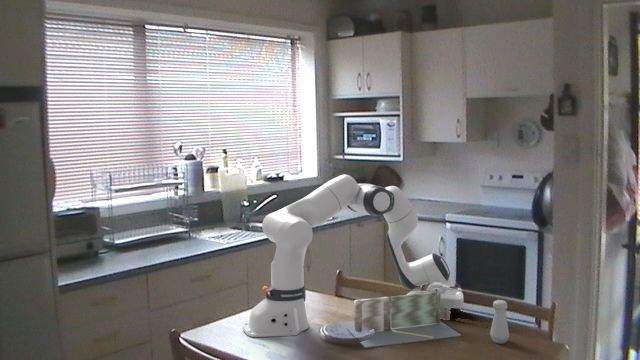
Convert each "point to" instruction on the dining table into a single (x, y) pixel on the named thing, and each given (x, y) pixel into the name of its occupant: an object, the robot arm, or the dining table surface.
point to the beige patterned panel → (372, 314)
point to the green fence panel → (415, 309)
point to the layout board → (410, 334)
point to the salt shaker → (499, 323)
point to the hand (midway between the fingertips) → (432, 305)
